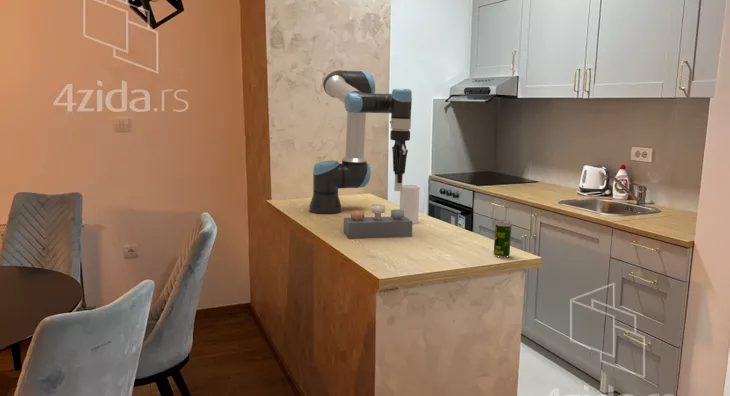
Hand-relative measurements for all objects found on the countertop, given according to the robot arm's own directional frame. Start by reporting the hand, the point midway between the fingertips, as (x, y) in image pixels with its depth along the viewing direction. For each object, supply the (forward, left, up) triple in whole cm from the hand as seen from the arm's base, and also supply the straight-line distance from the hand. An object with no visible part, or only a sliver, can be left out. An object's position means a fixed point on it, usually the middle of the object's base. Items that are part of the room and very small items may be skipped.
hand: (398, 190), depth 217 cm
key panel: (0, -8, -17) cm, 19 cm away
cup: (-21, +12, -17) cm, 29 cm away
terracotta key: (0, -16, -15) cm, 22 cm away
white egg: (0, -8, -13) cm, 15 cm away
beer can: (+36, +27, -17) cm, 48 cm away
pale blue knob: (0, 0, -15) cm, 15 cm away
